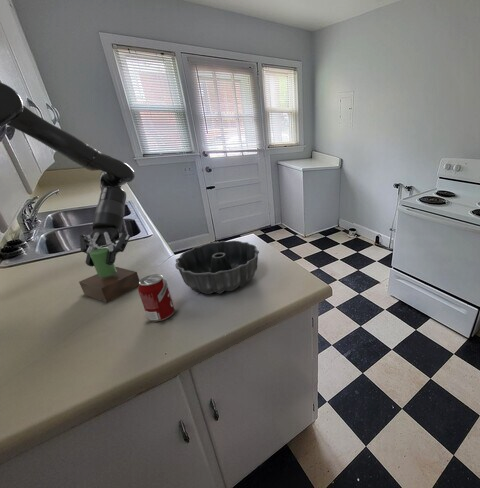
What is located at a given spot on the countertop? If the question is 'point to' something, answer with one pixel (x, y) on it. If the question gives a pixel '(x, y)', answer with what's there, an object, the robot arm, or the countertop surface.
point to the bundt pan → (218, 266)
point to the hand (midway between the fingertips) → (99, 264)
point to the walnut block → (110, 284)
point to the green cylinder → (102, 262)
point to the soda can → (156, 297)
